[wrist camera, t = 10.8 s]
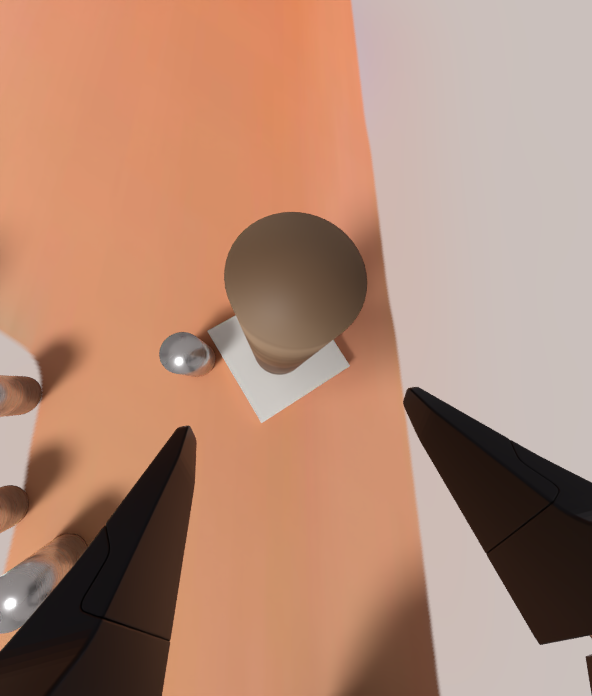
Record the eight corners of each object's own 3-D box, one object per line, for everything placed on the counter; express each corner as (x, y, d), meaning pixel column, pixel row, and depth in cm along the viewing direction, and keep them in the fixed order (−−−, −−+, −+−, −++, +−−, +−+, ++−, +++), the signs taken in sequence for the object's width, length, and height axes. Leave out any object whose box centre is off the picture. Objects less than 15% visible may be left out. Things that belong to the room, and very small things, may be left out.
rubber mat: (346, 367, 23) (350, 365, 22) (261, 421, 21) (261, 423, 20) (295, 286, 23) (296, 282, 22) (210, 333, 22) (207, 330, 21)
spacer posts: (269, 445, 21) (268, 458, 17) (25, 608, 17) (-47, 672, 13) (180, 294, 22) (160, 273, 18) (-63, 417, 19) (-152, 425, 15)
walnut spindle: (306, 372, 21) (375, 342, 7) (255, 376, 21) (227, 352, 7) (302, 323, 22) (357, 211, 8) (252, 326, 21) (221, 211, 8)
